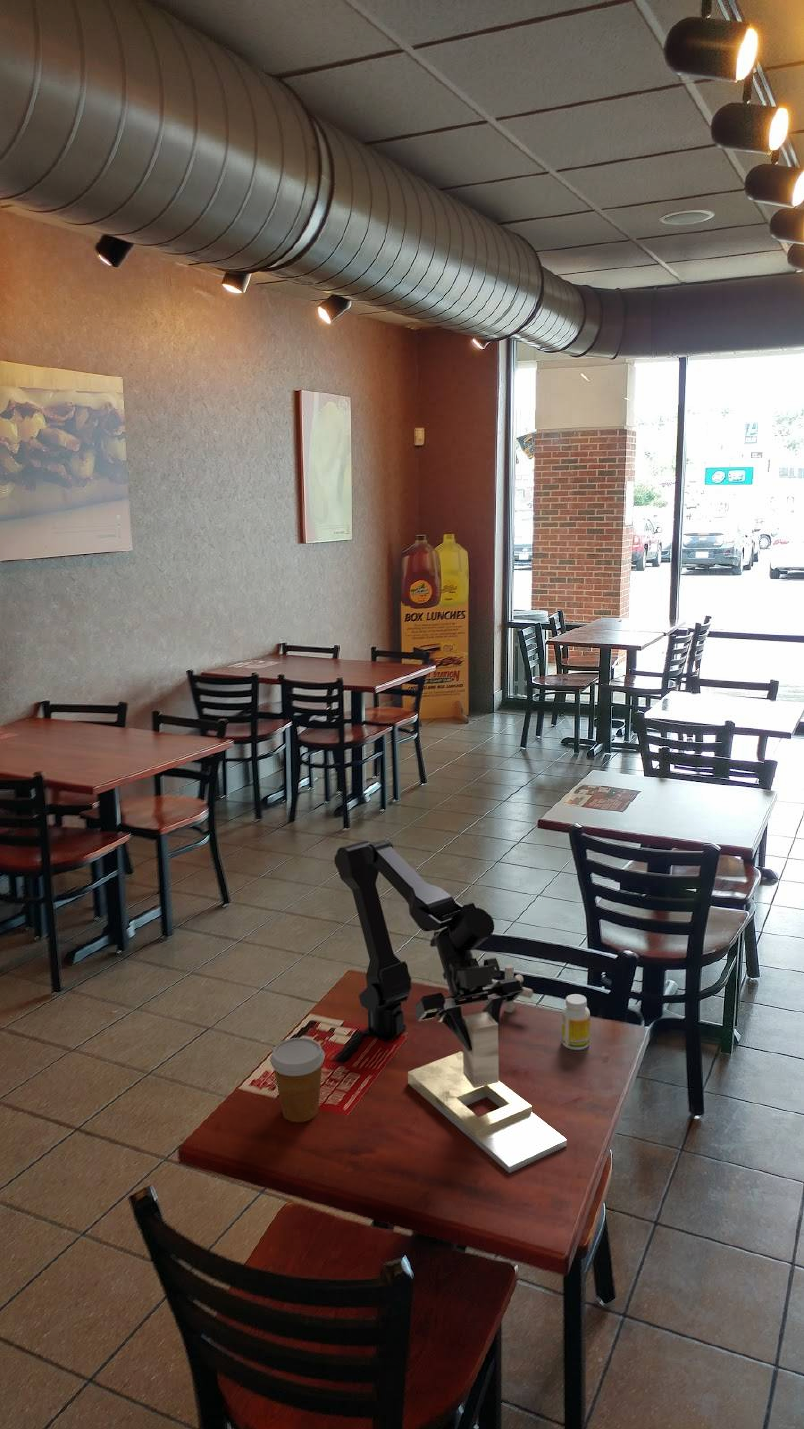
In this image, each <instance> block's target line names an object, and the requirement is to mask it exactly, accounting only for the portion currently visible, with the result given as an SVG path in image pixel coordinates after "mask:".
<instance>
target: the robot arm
mask: <svg viewBox="0 0 804 1429" xmlns="http://www.w3.org/2000/svg"><path fill="white" fill-rule="evenodd" d="M334 865H335V867H336V869H337V871H338V874H339V877H340V880H341V881H342V882H343V883H345V885H346V886H347V887H348V888H349V889H350V890H351V892H352V896H353V899H354V902H355V903H354V904H355V906H356V911H357V915H358V919H359V923H360V926H361V927H360V928H361V931H362V935H363V938H364V942H365V946H366V950H367V954H368V958H369V962H368V966H367V970H366V974H365V980H366V986H367V987H366V988H365V989H364V990H363V991H362V992H361V993H359V994H358V999H359V1004H360V1005H361V1007H363V1008H364V1009H365V1010H367V1027H366V1029H364V1030H363V1034H364V1035H366V1036H371V1037H373V1038H377V1039H380V1040H382V1041H386V1042H392V1040H394V1039H395V1038H397V1036H398V1035H400V1034H401V1033H402V1032H403V1031H405V1030H406V1029H407V1024H405V1023H404V1011H403V1010H402V1003H404V1002H407V1001H408V1000H409V995H410V991H411V990H412V980H413V979H412V978H411V975H410V973H409V968H408V967H409V966H408V963H406V961H405V960H404V961H401V960H400V959H399V958H398V956H396V955H395V953H394V950H393V947H392V943H391V938H390V934H389V930H388V926H387V923H386V918H385V915H384V910H383V907H382V906H383V905H382V904H381V900H380V895H379V892H378V888H377V880H378V878H379V877H378V876H379V873H380V874H381V875H382V876H383V877H384V878H385V879H386V881H387V882H389V884H390V885H391V886H392V887H393V888H394V889H395V890H396V892H398V893H399V894H400V896H401V897H402V898H403V899H404V900H405V901H406V903H407V904H408V911H409V915H410V917H411V918H412V919H413V921H414V922H415V923H416V925H417V926H418V928H419V929H420V930H422V931H423V932H426V933H427V932H432V931H434V932H433V936H432V938H431V939H430V943H429V945H430V947H431V948H433V947H436V949H437V952H438V955H439V960H440V963H441V965H442V966H441V967H442V970H443V973H442V976H443V980H446V983H447V986H448V990H449V993H450V994H449V996H448V997H445V996H444V994H443V993H442V992H438V993H433V994H428V995H423V996H422V997H421V998H420V1000H419V1001H418V1002H417V1004H416V1006H415V1007H414V1008H415V1016H416V1020H417V1022H423V1021H424V1022H425V1021H429V1020H432V1019H435V1017H436V1015H437V1014H438V1016H437V1018H436V1021H437V1023H441V1022H442V1023H443V1024H444V1025H445V1026H446V1027H447V1028H449V1030H450V1031H451V1032H452V1033H453V1034H454V1035H455V1037H457V1039H458V1040H459V1041H460V1043H461V1044H462V1046H463V1045H464V1046H465V1047H466V1049H467V1050H468V1051H471V1050H472V1046H471V1042H470V1038H469V1035H468V1033H467V1030H466V1027H465V1024H464V1022H463V1014H462V1007H463V1006H467V1005H471V1004H477V1003H481V1002H482V1003H483V1002H484V1004H485V1007H484V1008H483V1009H482V1012H488V1013H489V1014H490V1016H491V1017H492V1018H493V1019H494V1020H495V1021H496V1022H497V1023H498V1045H499V1042H500V1041H499V1040H500V1015H501V1010H502V1009H501V1008H502V1006H503V1005H505V1003H507V1002H511V1001H515V1000H516V999H518V997H520V994H521V993H522V992H523V991H524V990H523V987H524V986H523V984H522V983H521V982H520V981H519V980H518V979H517V978H516V977H515V976H514V978H509V979H505V978H504V979H499V980H498V982H497V983H496V984H495V985H494V986H493V987H492V988H490V987H489V988H487V985H491V984H493V982H492V979H494V978H499V977H501V968H500V965H499V962H498V958H497V957H491V958H486V959H484V960H483V964H482V965H480V964H479V961H478V959H477V958H476V957H475V958H474V956H473V953H472V951H473V950H474V949H476V948H477V947H478V946H480V945H481V944H482V943H484V941H486V940H487V939H489V937H491V936H492V934H493V933H494V930H495V922H494V919H493V917H492V916H491V915H490V914H489V913H488V911H486V910H484V909H482V908H479V907H476V904H475V903H474V902H471V901H470V902H469V903H466V904H461V903H460V902H458V901H457V900H455V899H454V898H453V896H452V895H451V894H450V893H448V892H447V891H445V890H444V889H442V888H441V887H440V886H437V885H434V884H431V883H428V882H426V881H425V880H424V878H422V877H421V876H420V875H419V873H417V871H416V870H415V869H414V868H412V866H411V865H410V864H409V863H408V862H407V861H406V860H405V859H404V858H403V857H402V856H401V855H400V854H399V853H398V852H397V851H396V850H395V849H394V845H393V844H392V842H391V841H389V840H385V839H382V840H379V841H378V840H377V841H375V842H372V843H371V842H370V841H369V840H361V841H358V842H355V843H352V844H347V845H344V846H341V847H339V848H338V849H337V851H336V854H335V856H334ZM440 929H442V930H440ZM438 930H439V931H438ZM484 988H485V989H484Z"/></svg>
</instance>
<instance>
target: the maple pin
mask: <svg viewBox="0 0 804 1429" xmlns="http://www.w3.org/2000/svg"><path fill="white" fill-rule="evenodd" d="M462 1019H463V1022H464V1024H465V1027H466V1030H467V1033H468V1035H469V1038H470V1042H471V1046H472V1050H471V1051H468V1050H467V1049H466V1047H465V1046H464V1045H463V1044H462V1052H463V1074H464V1075H465V1077H466V1078H467V1079H468V1081H469V1082H470V1083H471V1085H472V1086H473V1087H474V1088H477V1087H481V1086H485V1085H489V1084H494V1083H498V1082H499V1081H500V1080H499V1073H500V1072H499V1044H498V1023H497V1022H496V1021H495V1020H494V1019H493V1018H492V1017H491V1016H490V1014H489V1013H488V1012H483V1011H482V1012H479V1013H473V1014H469V1015H464V1016H462Z"/></svg>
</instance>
